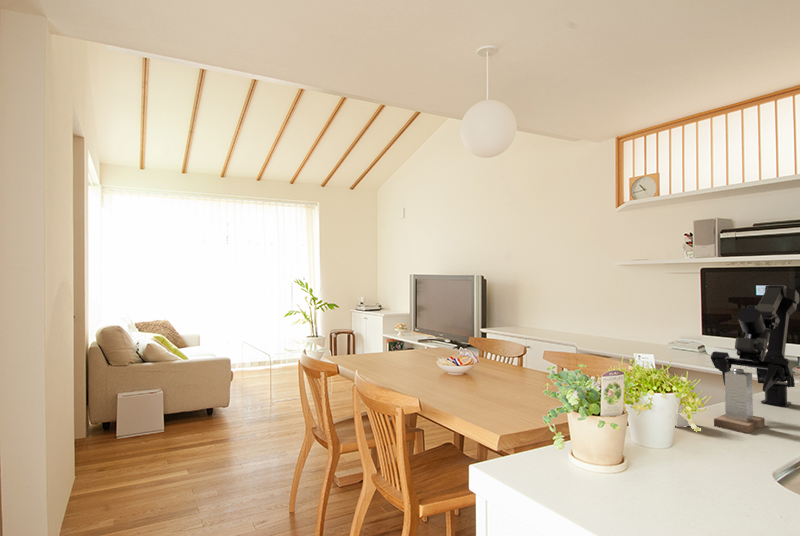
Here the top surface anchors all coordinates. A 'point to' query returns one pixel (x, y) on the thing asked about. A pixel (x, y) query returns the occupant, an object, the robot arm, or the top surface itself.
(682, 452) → the top surface
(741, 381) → the housing
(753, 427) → the plinth
